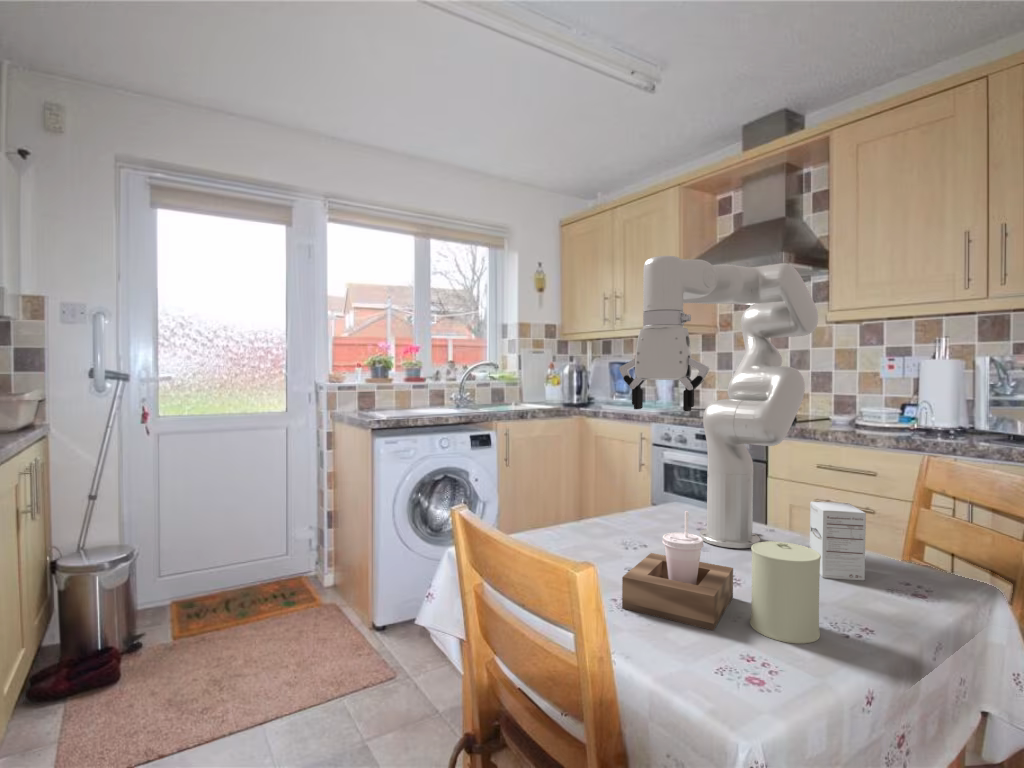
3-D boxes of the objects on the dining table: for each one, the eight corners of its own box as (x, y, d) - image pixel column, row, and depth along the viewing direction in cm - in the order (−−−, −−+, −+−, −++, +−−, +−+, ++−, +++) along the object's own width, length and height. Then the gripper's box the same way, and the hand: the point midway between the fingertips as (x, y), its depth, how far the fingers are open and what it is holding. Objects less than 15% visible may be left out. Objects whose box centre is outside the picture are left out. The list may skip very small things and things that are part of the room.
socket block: (650, 580, 99) (651, 552, 99) (732, 597, 92) (733, 567, 92) (622, 608, 87) (622, 576, 87) (713, 630, 80) (714, 596, 80)
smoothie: (706, 606, 86) (707, 517, 86) (664, 603, 87) (664, 515, 87) (699, 590, 92) (700, 507, 92) (659, 587, 93) (660, 505, 93)
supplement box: (808, 564, 108) (809, 500, 108) (849, 567, 106) (850, 502, 106) (821, 578, 101) (822, 509, 100) (866, 581, 99) (867, 511, 99)
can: (809, 618, 84) (810, 540, 84) (829, 647, 75) (830, 560, 75) (744, 612, 86) (745, 536, 86) (756, 639, 77) (757, 555, 77)
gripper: (713, 321, 105) (712, 410, 105) (627, 325, 114) (626, 407, 115) (704, 317, 99) (703, 413, 99) (613, 322, 108) (612, 409, 108)
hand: (662, 409), depth 107 cm, fingers open, 9 cm apart
